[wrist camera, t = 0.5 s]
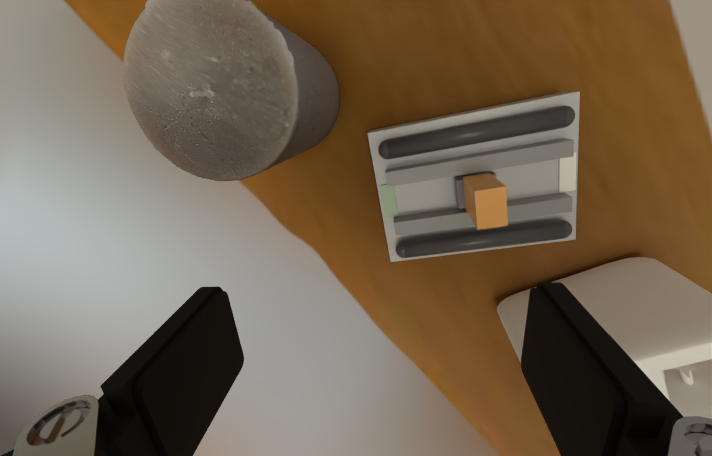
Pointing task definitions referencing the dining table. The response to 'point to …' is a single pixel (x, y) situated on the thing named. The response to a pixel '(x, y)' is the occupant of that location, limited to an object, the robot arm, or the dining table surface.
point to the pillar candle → (226, 87)
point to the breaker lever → (482, 199)
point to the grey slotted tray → (474, 155)
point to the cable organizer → (643, 324)
